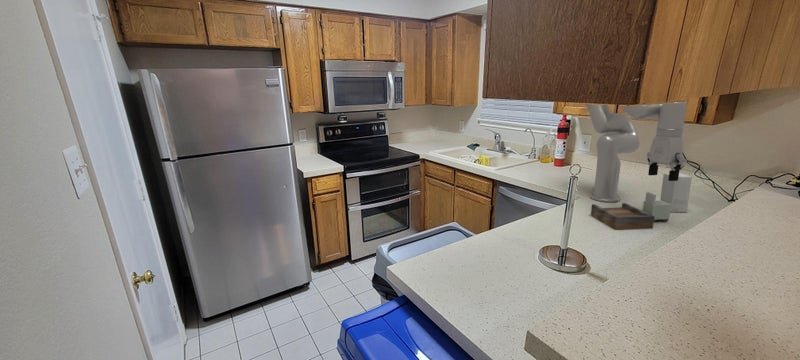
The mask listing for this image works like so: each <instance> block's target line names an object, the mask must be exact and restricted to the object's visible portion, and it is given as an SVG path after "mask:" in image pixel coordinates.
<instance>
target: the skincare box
mask: <svg viewBox="0 0 800 360" xmlns="http://www.w3.org/2000/svg"><path fill="white" fill-rule="evenodd" d="M668 178H669V172H664V173H663V175H662V182H661V183H662V185H661V191H660V198H659V199H660V200H659V201H664V202H666V203H669V204H671V211H670V213H687V212H688V206H689V201H690V200H689V199H690V193H691V187H692V186H691V184H692V178H693V177H692V176H690V175H688V174H684V173H681V172H679V177H678V181H669V180H668Z"/></svg>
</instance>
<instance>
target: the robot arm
mask: <svg viewBox="0 0 800 360" xmlns="http://www.w3.org/2000/svg"><path fill="white" fill-rule="evenodd" d="M584 106H585V108H586V109H587V111H588V113H589V117H590V119H591V123H592V125H593V128H594V130H595V132H596V133H597V134H601V136H599V137H598V139H597V141H596V151H597V160H596V169H595V170H596V171H595V179H594V186H593V187H591V190H592V191H593V192H592V193H590V194H589V198H590V199H592V200H594V201H597V202H603V203H604V202H605V203H616V202H619V201H621V197H620V196H619V195H618V187H619V182H620V173H621V160H620V158H619V156H618V155H620V154H631V153H634V152H636V151H638V150H639V147H640V137H639V135H638V132H637V130H636V127H635V125H634V121H633V119H635V120H641V121H642V120H657V128H656V133H655V136H654V137H653V140H652V142H651V146H650V150H649V152H647V153H646V158H647V161H648V166H649V167H648V176H657V175H658V171H659V165H658V164H661V165H664V166H665V165H667V166H669V167H670V170H669V172H668V173H669V178H668V180H669V181H678V177H679V173H680V171H682V169H683V168H684V167H685V165H686V164H687V162H688V160H687V159H686V158H685V157H684V156H683V147H684V146H683V145H684V143H683V132H684V126H685V120H686V119H685V118H686V112H687V106H688V102H687V100H686V101H684V102H674V103H664V104H652V105H640V106H621V109H622V110H623V111H624V112H625V113H624V112H623V113H622V112H620V113H618V112H616V113H614V112H612V111H611V109H610V106H609V104H608V105H589V104H584ZM632 118H633V119H632Z"/></svg>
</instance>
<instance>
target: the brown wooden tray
mask: <svg viewBox="0 0 800 360" xmlns="http://www.w3.org/2000/svg"><path fill="white" fill-rule="evenodd" d="M590 216H592V217H593V218H595V219H597V220H598V221H600V222H601V223H603V224H604V225H607V226H608V227H610V228H612V229H614V230H615V231H619V230H620V231H621V230H622V231H623V230H642V229H643V230H644V229H647V230H648V229H649V230H650V229H653V228H654V223H655V222H654V217H655V216H653V215H650V214H648V213H646V212H644V211H643V209H642V210H641V209H639V208H637V207H635V206H632V205H631V204H628V203H625V202H623V203H621V206H620V207H619V206H618V207H617V206H616V207H601V206H599V205H598V204H595V203H593V204H591V211H590Z"/></svg>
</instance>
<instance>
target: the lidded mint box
mask: <svg viewBox="0 0 800 360" xmlns="http://www.w3.org/2000/svg"><path fill="white" fill-rule="evenodd" d="M656 199H657V194H655V193H652V192H650V191H649V192H648V191H647V192H645V198H644V201H643V206H642V211H644V212H646V213H648V214H650V215H653V216H655V217H654V223H655V222H657V220H660V221H662V222H664V223H666V222H668V221H669V219H670V217H671V215H670V214H671V212H670V211H671V204H669V203H666V202H664V201H660V200H656Z"/></svg>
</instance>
